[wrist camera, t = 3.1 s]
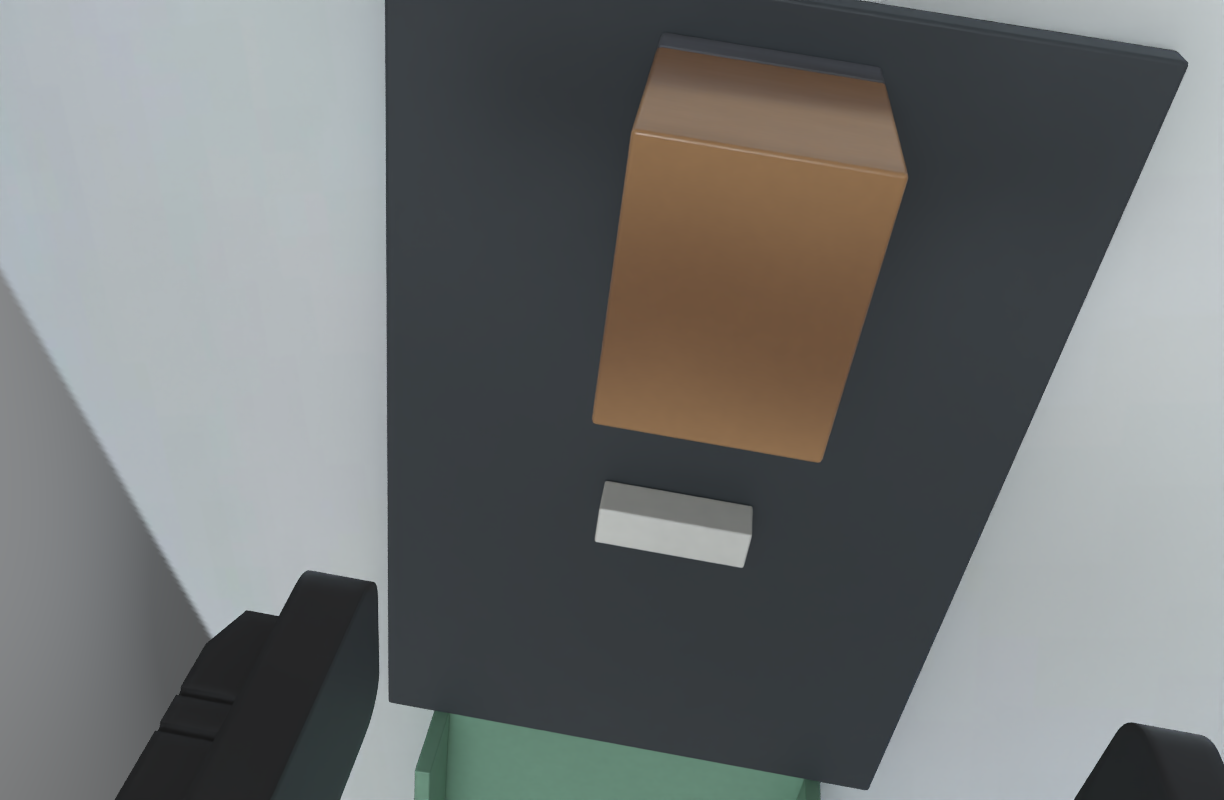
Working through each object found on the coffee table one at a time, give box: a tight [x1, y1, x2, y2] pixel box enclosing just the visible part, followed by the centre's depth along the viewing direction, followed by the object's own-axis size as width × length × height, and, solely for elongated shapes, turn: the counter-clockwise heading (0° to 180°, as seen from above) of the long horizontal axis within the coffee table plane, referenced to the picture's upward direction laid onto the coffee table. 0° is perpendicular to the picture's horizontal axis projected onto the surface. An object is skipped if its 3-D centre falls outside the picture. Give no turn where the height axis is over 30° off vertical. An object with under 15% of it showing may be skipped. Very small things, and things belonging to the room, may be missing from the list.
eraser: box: [592, 33, 908, 463], centre depth 21 cm, size 6×4×6 cm
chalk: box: [595, 481, 753, 568], centre depth 28 cm, size 1×4×1 cm, turn 83°
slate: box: [385, 0, 1188, 790], centre depth 28 cm, size 24×16×1 cm, turn 173°
